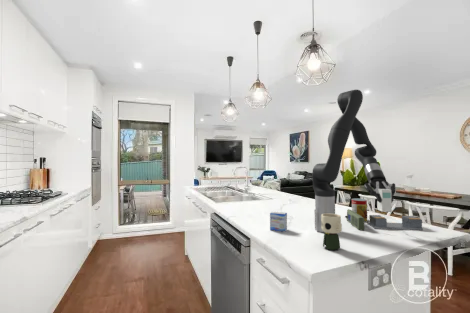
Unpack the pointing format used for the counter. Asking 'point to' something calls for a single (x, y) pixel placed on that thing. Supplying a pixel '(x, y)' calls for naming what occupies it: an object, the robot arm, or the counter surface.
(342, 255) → the counter surface
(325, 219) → the character mug
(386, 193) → the block
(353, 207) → the canned food
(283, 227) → the medicine box
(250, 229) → the counter surface
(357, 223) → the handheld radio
